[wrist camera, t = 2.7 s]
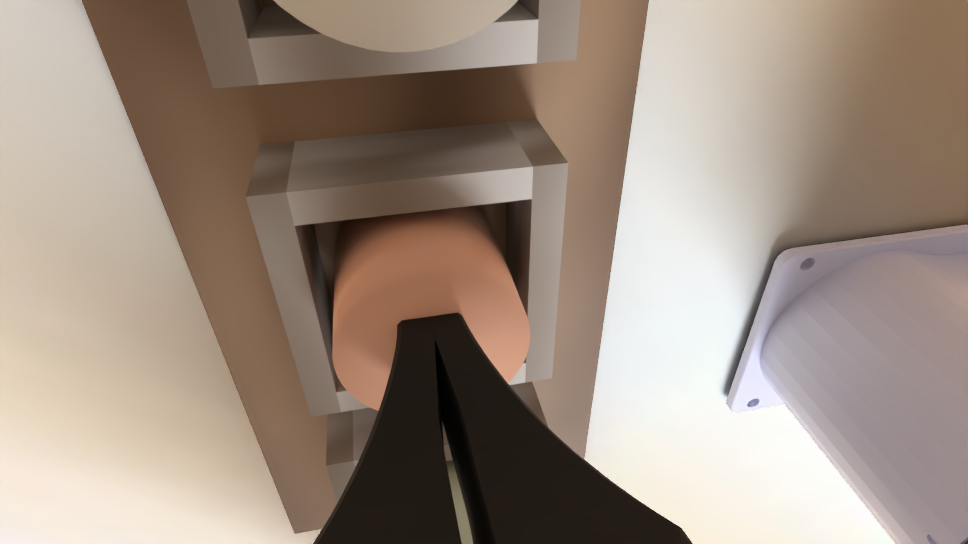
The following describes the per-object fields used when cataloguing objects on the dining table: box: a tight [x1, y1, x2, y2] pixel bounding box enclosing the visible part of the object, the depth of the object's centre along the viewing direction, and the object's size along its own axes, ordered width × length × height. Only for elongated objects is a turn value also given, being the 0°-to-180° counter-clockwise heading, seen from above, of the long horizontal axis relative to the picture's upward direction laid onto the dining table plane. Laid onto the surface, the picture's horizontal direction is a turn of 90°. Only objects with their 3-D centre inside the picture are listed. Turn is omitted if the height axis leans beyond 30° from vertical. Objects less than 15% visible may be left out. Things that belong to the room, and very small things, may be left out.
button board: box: [82, 0, 649, 534], centre depth 15 cm, size 12×26×3 cm, turn 0°
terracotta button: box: [332, 205, 530, 411], centre depth 14 cm, size 4×4×4 cm
